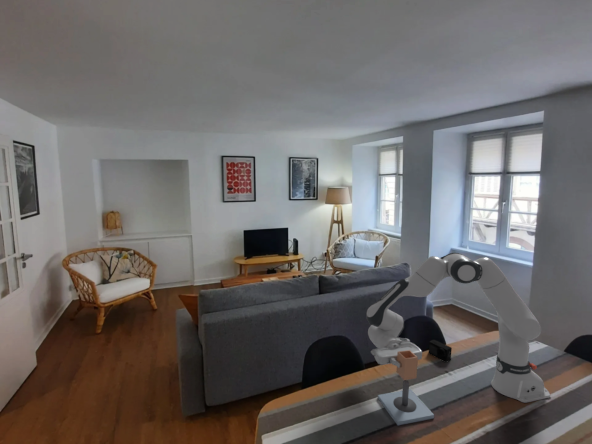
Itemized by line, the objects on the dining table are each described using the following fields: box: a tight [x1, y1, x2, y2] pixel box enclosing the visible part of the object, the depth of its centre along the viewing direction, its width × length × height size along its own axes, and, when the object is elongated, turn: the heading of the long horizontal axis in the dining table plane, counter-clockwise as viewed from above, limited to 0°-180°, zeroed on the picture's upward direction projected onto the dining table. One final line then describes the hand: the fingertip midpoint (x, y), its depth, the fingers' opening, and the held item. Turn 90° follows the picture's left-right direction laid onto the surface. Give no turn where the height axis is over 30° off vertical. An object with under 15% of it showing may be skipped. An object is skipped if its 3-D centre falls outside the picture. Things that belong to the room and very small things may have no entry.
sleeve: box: [396, 350, 419, 381], centre depth 133 cm, size 6×6×9 cm
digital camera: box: [428, 339, 452, 363], centre depth 174 cm, size 10×5×7 cm, turn 34°
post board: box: [377, 380, 435, 426], centre depth 135 cm, size 16×16×12 cm
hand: (408, 364), depth 132 cm, fingers closed on sleeve, 6 cm apart
